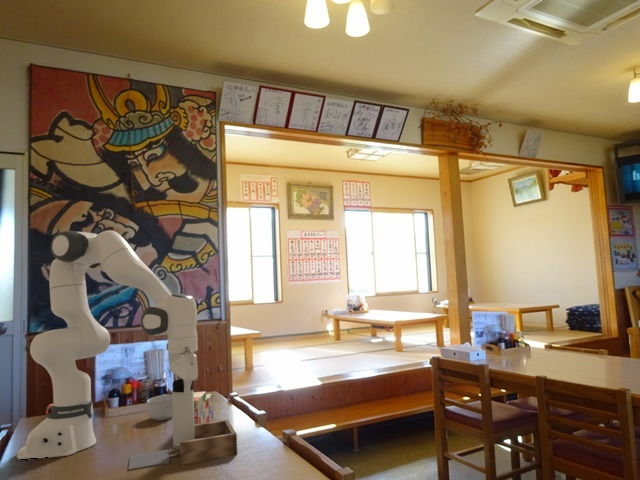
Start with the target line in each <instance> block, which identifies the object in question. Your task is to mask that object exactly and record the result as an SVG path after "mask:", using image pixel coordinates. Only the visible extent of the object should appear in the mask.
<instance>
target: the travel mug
mask: <svg viewBox="0 0 640 480" xmlns="http://www.w3.org/2000/svg"><path fill="white" fill-rule="evenodd" d="M183 388H184V380H183V379H178V380H176V379H175V380H174V381H173V382H172V395H173V415H172V441H173V443H172V444H173V445H172V447H173V449H175V450H180V442H182V441H188V440H194V381H192V384H191V388H190V394H184V393H183Z"/></svg>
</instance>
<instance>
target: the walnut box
mask: <svg viewBox="0 0 640 480" xmlns="http://www.w3.org/2000/svg"><path fill="white" fill-rule="evenodd" d="M237 437H238V435H237V432H236V431H235V429H234V427H233V425H232V424H231V421H229V419H223V420H217V421H210V422H209V423H202V424H196V425H194V440H188V441H182V442H180V449H179V451H180V452H179V454H180V465H181V466H182V465H188V464H192V463H198V462H203V461H209V460H215V459H219V458H220V457H221V458H227V457H231V456H237V455H238V443H237V442H238V441H237V440H238V438H237ZM221 458H220V459H221Z"/></svg>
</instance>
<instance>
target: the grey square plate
mask: <svg viewBox="0 0 640 480" xmlns="http://www.w3.org/2000/svg"><path fill="white" fill-rule="evenodd" d="M167 464H168V465H169V464H170V455H169V449H164V450H157V451H153V452H146V453H140V454H134V455H130V456H129V461H128V471H133V470H135V471H136V470H139V469H144V468H145V469H146V468H151V467H156V466H163V465H167Z"/></svg>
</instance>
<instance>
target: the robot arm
mask: <svg viewBox="0 0 640 480" xmlns="http://www.w3.org/2000/svg"><path fill="white" fill-rule="evenodd" d="M50 244H51V245H50V251H51V254H52V256H53V257H54V258H55V259H54V260H52V262H51V265H50V272H49V284H48V285H49V298H50V300H49V301H50V310H51V312H52V313H53V314H54V315H55V316H57V317H58V318H60V319H63V320H64V321H65V323H66V324H67V327H66V328H57V329H52V330H47V331H44V332H41V333H38V334H37V335H35V336H34V337H33V339H32V341H31V342H30V346H29V352H30V356H31V357H32V359H33V361H34V362H36V363H37V364H39V365H41V366H42V367H43V368H45V370H46V371H47V373H48V375H49V376H50V379H51V384H52V393H53V395H52V396H53V399H52V400H53V403H51V404H48V406H47V407H46V410H45V414H46V418H44V420H42V421H41V422H40V423H39V424H37V426H36V427H34V428H33V429H32V430H31V431H30V432H29V433H28V436H27V438H26V442H25V446H23V447H21V449H19V450H18V451H17V453H16V459H17V458H19V459H24V458H38V459H46V458H45V457H48V458H56V457H65V456H66V457H67V456H70V455H73V454H76V453H77V452H79V451H82V450H85V449H87V448H88V449H89V448H90V447H92V446H93V445H95V444H96V443H97V438H96V436H95V431H94V425H93V419H92V417H93V415H94V410H93V409H94V407H93V406H94V403H93V399H92V382H91V381H92V380H91V376H90V375H89V374H88V373H87V372H84V371H82V370H79V369H78V367H77V365H76V360H77V361H78V360H83V359H87V358H88V359H89V358H93V357H96V356H99V355H101V354H103V353H105V352H106V351H107V350H108V349H109V347H110V343H111V334H110V332H109V331H108V329H107V328H105V326H103V325H101V324H100V323H99V322H98V321H97V319H96V318H94V315H93V314H92V311H91V309H90V306H89V301H88V293H87V284H86V283H87V282H86V271H87V269H89V268H90V269H95V268H98V267H99V266H101V267H102V269H103V271H104V273H106V275H107V276H108V277H109V279H111V280H112V281H113V282H114V283H116V284H119V285H122V286H127V287H130V288H135V289H138V290H140V291H142V292H144V293H146V294H147V295H148V296H149V297H150V298H151V300H152V301H153V303H154V305H151V306H147V307H146V308H145V309H144V310H143V311H142V313H141V316H140V327H141V329H142V331H143V332H144V333H145V334H146V335H147V336H153V337H157V336H164V335H167V343H166V350H167V353H168V354H167V355H168V364H169V365H168V366H169V370H170V373H172V375H173V374H174V375H175V376H174V377H175V381H176V380H178V379H183V380H184V388H183V393H184V394H190V388H191V384H192V381H193V382H194V381H197V380H198V378H199V369H198V365H199V364H198V357H197V355H196V354H195V353H196V352H197V351H198V350H199V345H198V332H197V324H198V311H197V310H198V309H197V302H196V300H195V298H194V296H192V295H190V294H186V293H172V291H171V290H170V289H169V288H168V286H167V285H166V284H165V283H164V282H163V281H162V280H161V278H159V276H158V275H157V274H156V273H155V272H153V270H152V269H150V268H149V267H148V266H147V265H146V264H145V263H144V262H143V261H142V259H141V258H140V257H139V256H138V254H137V253H136V252H135V251H134V249H133V247H132V246H131V245H130V244H129V243H128V242H127V240H126V239H125V238H124V237H123V236H122V235H121V234H119V232H117V231H114V230H111V229H110V230H104V231H102V232H100V233H98V234H97V233H93V232H90V231H89V232H88V231H75V230H64V231H59V232H58V233H56V234H55V236H54V237H53V238H52V240H51V243H50Z"/></svg>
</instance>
